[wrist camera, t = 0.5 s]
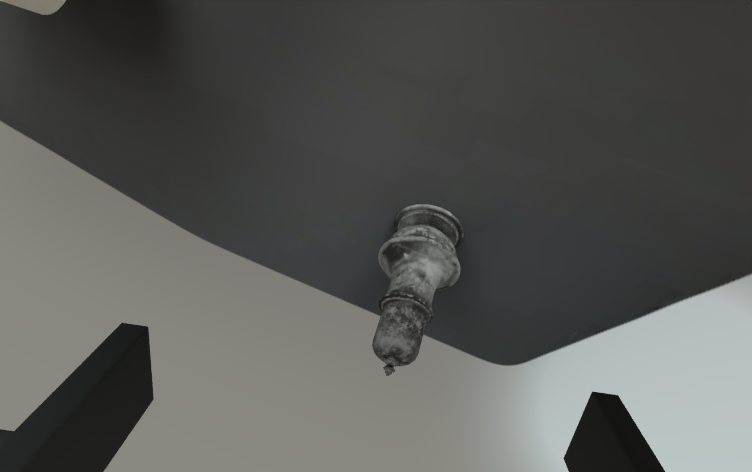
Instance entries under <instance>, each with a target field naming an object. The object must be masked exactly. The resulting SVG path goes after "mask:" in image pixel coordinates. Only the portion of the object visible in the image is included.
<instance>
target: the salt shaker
mask: <svg viewBox="0 0 752 472" xmlns="http://www.w3.org/2000/svg"><path fill="white" fill-rule="evenodd" d="M394 228H395V232H396V233H395V234H394V235H393V236H392V237H391V238H390V239H389V240H388V241H387V242H385V243H384V244H383V246H382V247H381V248H380V251H379V255H378V258H379V264H380V266H381V267H382V269H383V271H384V272H385V273H386V274H387V275H388V276H389V277H390V278H391V283H390V286H389V289H388V292H387V294H386V295H384V296H383V297H382V298H381V299H380V301H379V308H380V310H381V311H382V314H381V317H380V320H379V323H378V327H377V330H376V333H375V336H374V339H373V344H372V346H373V350H374V352H375V354H376V355H377V356H378V357H379V358H380V359H381V360H382V361H383V362H385V363H386V364H387V365H386V366H385V367H384V370H385V373H386V375H387V376H389V375H390V374H392V372H395V369H394V368H393V367H394V366H404V365H408V364H410V363H411V362H413V361H414V360H415V359H416V357H417V355H418V353H419V349H420V344H421V340H422V336H423V332H424V328H425V325H426V324H428V323H430V322H431V321H432V319H433V317H434V315H433V310H432V308H431V304H432V300H433V296H434V292H435V291H440V290H444V289H446V288H449V287H451V286H452V285H453V284H454V283H456V282H457V280H458V278H459V276H460V264H459V262H458V257H457V254H456V250H455V249H456V248H457V247H458V246H460V244H461V242H462V240H463V234H464V231H463V228H462V225H461V223H460V222H459V220H458V219H457V218H456V217H455V216H454V215H453V214H451V213H450V212H449V211H447V210H445V209H443V208H441V207H437V206H434V205H429V204H416V205H411V206H408V207H406V208H404V209H403V210H401V211H400V212H399V213H398V215H397V216H396V218H395V222H394Z"/></svg>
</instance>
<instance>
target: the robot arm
mask: <svg viewBox="0 0 752 472" xmlns="http://www.w3.org/2000/svg"><path fill="white" fill-rule="evenodd" d="M152 401H153V387H152V373H151V359H150V345H149V332H148V327H146V326H139V325H133V324H126V323H121V324H120V325H119V326H118V328H116V330H114V331H113V332H112V334H111V335H109V336H108V337H107V338H106V340H105V341H104V342H103V343H102V344H101V345H100V346H99V347H98V348H97V349H96V350H95V351H94V352H93V353H92V354H91V355H90V356H89V357H88V358H87V359H86V360H85V361H84V362H83V363H82V364H81V365H80V366H79V367H78V368H77V369H76V370H75V371H74V372H73V373H72V374H71V375H70V376H69V377H68V378H67V379H66V380H65V381H64V382H63V383H62V384H61V385H60V386H59V387H58V388H57V389H56V390H55V391H54V392H53V393H52V394H51V395H50V396H49V397H48V398H47V399H46V400H45V401H44V402H43V403H42V404H41V405H40V406H39V407H38V408H37V409H36V410H35V411H34V412H33V413H32V414H31V415H30V416H29V417H28V418H27V419H26V420H25V421H24V422H23V423H22V424H21V425H20V426H19V427H18V428H17V429H16V430H15V431H7V430H0V472H103V471H104V470H105V468H106V467H107V466H108V464H109V463H110V461H111V460H112V458H113V457H114V455H115V454H116V453H117V451H118V450H119V448H120V447H121V445H122V444H123V443H124V441H125V440H126V438H127V437H128V435H129V434H130V432H131V431H132V430H133V428H134V427H135V425H136V424H137V422H138V421H139V419H140V418H141V416H142V415H143V414H144V412H145V411H146V409H147V408H148V406H149V405H150V403H151V402H152ZM564 460H565V463H566V465H567V468H568V471H569V472H665V471H664V469H663V467H662V466H661V464H660V463H659V461H658V459H657V458H656V456H655V455H654V453H653V451H652V450H651V448H650V446H649V445H648V443H647V442H646V440H645V438H644V437H643V435H642V434H641V432H640V430H639V429H638V427H637V426H636V424H635V422H634V421H633V419H632V418H631V416H630V414H629V412H628V411H627V409H626V408H625V406H624V404H623V403H622V401H621V400H620V398H619V396H618V395H611V394H605V393H598V392H592V394H591V396H590V398H589V400H588V403H587V405H586V407H585V410H584V412H583V414H582V417H581V420H580V421H579V424H578V426H577V429H576V431H575V433H574V436H573V438H572V440H571V443H570V445H569V447H568V450H567V452H566V454H565V457H564Z"/></svg>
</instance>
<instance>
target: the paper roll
mask: <svg viewBox="0 0 752 472" xmlns="http://www.w3.org/2000/svg"><path fill="white" fill-rule="evenodd" d="M0 1H2V2H5V3H8V4H11V5H14V6H17V7H20V8H23V9H26V10H29V11H33V12H36V13H39V14H42V15H49V14H52V13H54V12H56V11H57V10H58V9H60V7H61V6H62V5H63V4H64V3H65V1H66V0H0Z"/></svg>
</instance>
